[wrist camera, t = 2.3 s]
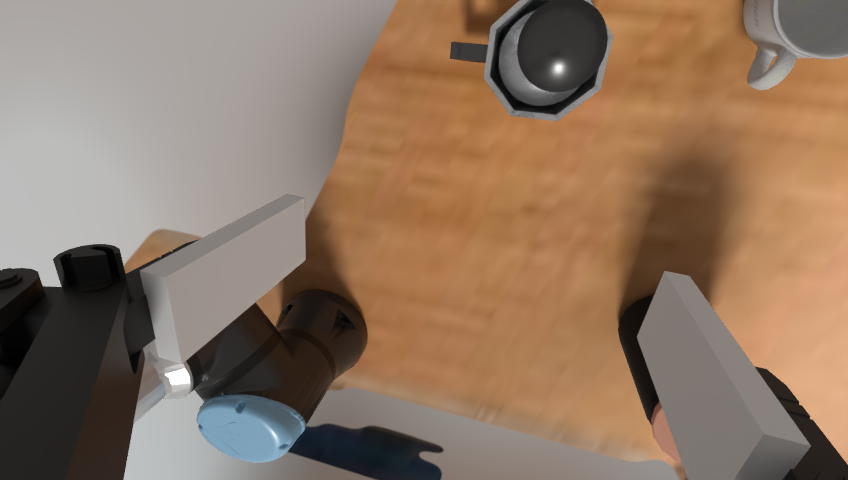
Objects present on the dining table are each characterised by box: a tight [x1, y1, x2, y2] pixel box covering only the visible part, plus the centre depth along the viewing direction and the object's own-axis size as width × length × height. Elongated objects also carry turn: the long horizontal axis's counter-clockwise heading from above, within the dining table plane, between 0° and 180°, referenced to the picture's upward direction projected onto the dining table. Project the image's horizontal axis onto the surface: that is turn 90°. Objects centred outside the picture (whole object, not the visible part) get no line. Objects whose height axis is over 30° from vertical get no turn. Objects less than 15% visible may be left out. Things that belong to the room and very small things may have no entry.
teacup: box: [743, 0, 848, 90], centre depth 36 cm, size 14×11×8 cm
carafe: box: [450, 0, 613, 121], centre depth 41 cm, size 14×10×13 cm
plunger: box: [499, 0, 608, 106], centre depth 28 cm, size 8×8×20 cm
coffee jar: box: [618, 296, 682, 463], centre depth 47 cm, size 11×11×18 cm
